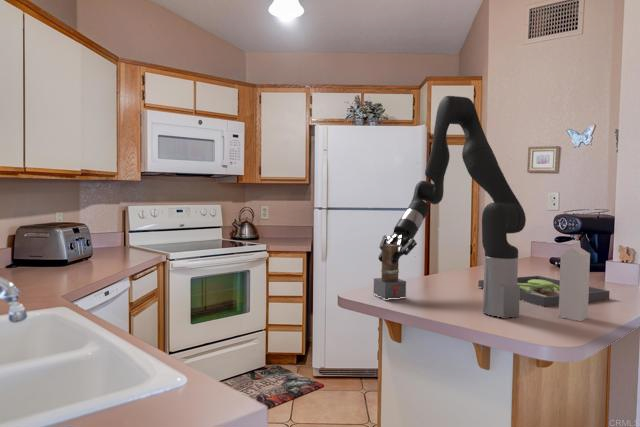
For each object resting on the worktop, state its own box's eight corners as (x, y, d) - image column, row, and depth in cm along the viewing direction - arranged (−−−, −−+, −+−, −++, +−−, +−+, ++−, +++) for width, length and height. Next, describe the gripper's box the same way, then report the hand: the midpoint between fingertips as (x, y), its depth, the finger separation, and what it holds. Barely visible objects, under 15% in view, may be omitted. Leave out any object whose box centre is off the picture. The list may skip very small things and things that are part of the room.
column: (398, 279, 153) (399, 245, 152) (390, 281, 150) (391, 246, 150) (388, 278, 156) (389, 244, 156) (381, 279, 153) (381, 244, 153)
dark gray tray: (609, 299, 153) (609, 291, 153) (543, 306, 142) (544, 297, 142) (537, 283, 181) (537, 275, 181) (478, 288, 170) (478, 280, 170)
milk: (587, 318, 130) (591, 242, 129) (580, 321, 126) (584, 244, 125) (565, 313, 134) (568, 240, 133) (557, 317, 130) (561, 242, 129)
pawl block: (406, 299, 151) (406, 281, 150) (385, 300, 148) (385, 282, 148) (393, 293, 158) (393, 277, 158) (373, 295, 156) (373, 278, 155)
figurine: (516, 301, 150) (516, 285, 150) (505, 286, 176) (505, 272, 176) (577, 306, 145) (577, 289, 145) (556, 289, 171) (557, 274, 171)
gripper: (388, 216, 162) (365, 252, 155) (421, 218, 152) (398, 256, 144) (397, 230, 166) (375, 265, 159) (430, 233, 155) (408, 271, 148)
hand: (386, 261), depth 152 cm, fingers open, 4 cm apart
